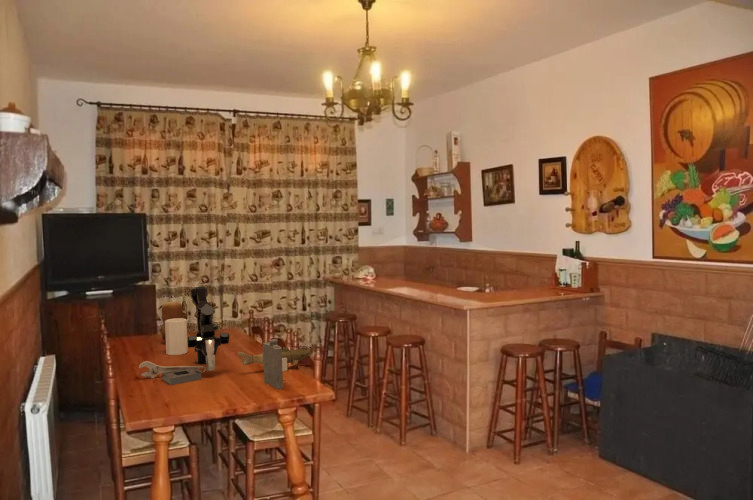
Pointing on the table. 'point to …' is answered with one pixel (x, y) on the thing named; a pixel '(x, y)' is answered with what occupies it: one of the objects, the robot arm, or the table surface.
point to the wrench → (164, 369)
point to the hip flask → (273, 364)
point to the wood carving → (286, 357)
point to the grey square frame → (181, 376)
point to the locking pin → (210, 354)
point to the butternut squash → (170, 313)
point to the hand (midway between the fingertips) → (210, 355)
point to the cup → (176, 336)
